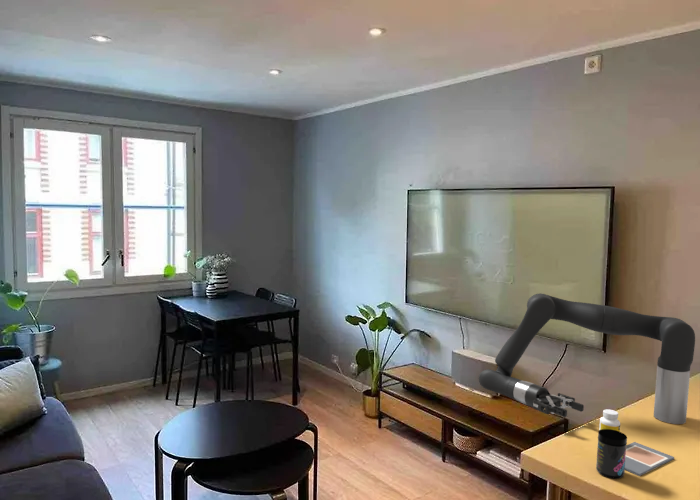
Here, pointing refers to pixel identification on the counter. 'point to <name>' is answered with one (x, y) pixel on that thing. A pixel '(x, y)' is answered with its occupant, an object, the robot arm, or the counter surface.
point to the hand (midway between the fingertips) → (574, 411)
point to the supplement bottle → (609, 420)
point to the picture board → (643, 458)
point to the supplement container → (611, 453)
